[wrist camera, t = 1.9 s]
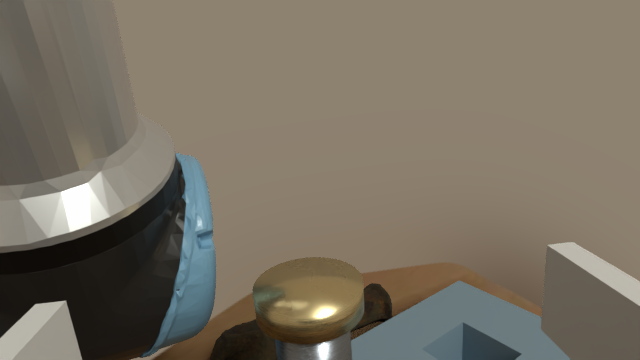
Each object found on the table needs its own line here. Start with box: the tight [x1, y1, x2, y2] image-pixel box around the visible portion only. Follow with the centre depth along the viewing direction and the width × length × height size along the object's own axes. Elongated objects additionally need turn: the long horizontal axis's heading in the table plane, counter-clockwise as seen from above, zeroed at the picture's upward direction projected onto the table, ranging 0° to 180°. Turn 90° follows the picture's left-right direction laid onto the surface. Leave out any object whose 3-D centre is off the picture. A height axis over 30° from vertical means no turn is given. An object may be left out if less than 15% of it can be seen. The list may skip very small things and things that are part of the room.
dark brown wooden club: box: [210, 283, 392, 360], centre depth 41 cm, size 19×4×5 cm, turn 114°
